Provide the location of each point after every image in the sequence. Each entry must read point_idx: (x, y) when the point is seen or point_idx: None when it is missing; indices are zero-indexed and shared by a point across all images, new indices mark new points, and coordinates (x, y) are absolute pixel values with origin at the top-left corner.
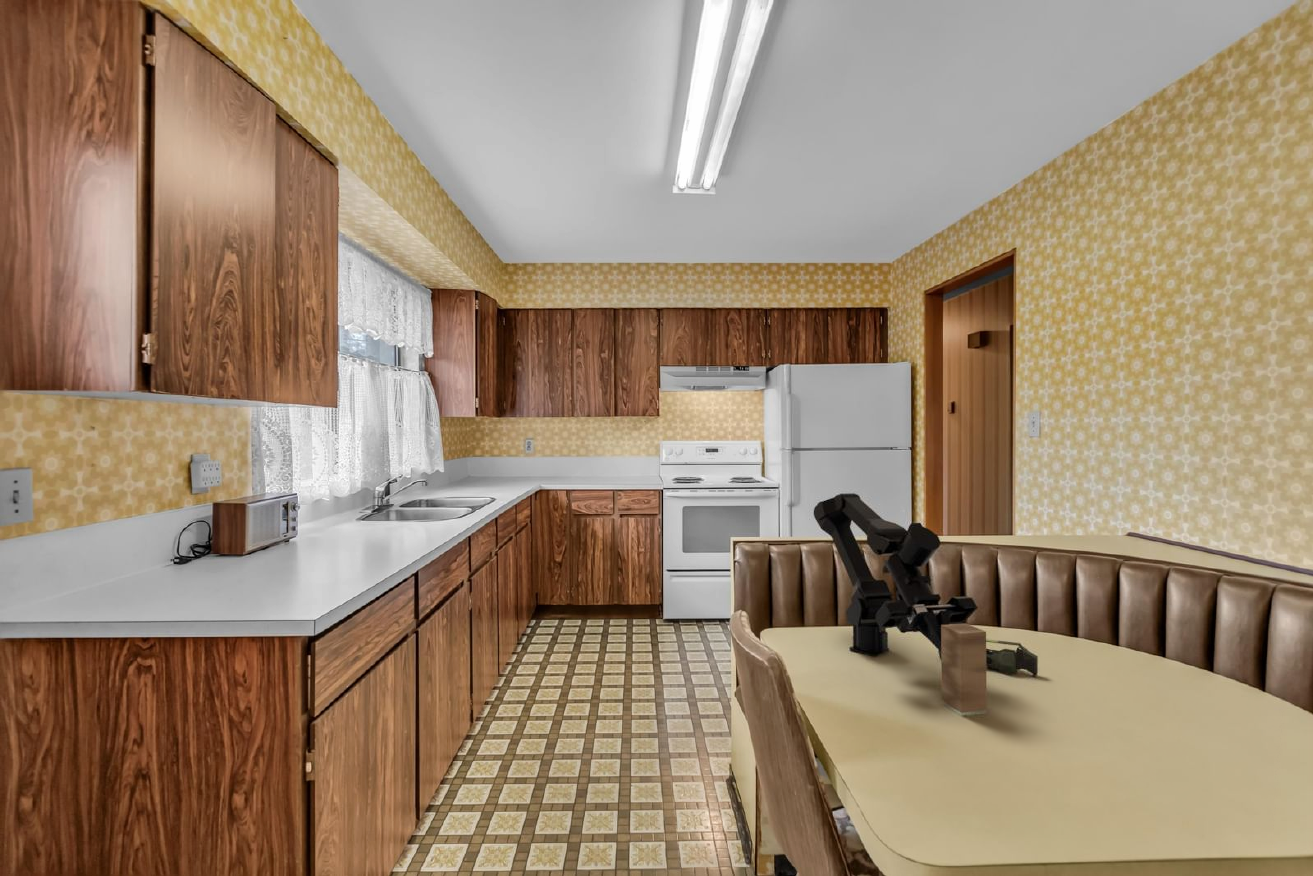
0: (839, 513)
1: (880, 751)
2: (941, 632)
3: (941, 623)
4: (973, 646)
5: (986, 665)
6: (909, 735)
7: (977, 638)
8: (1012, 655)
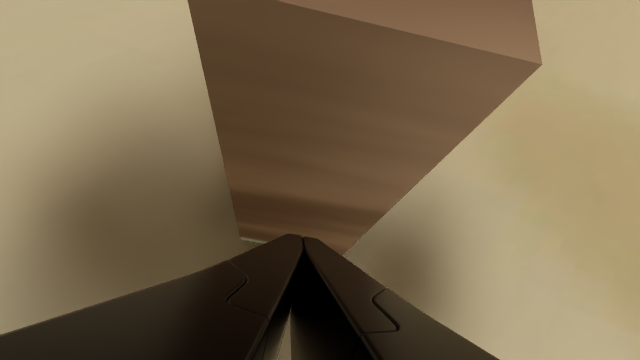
0: None
1: (635, 128)
2: (488, 112)
3: (269, 339)
4: None
5: None
6: (546, 151)
7: None
8: None
